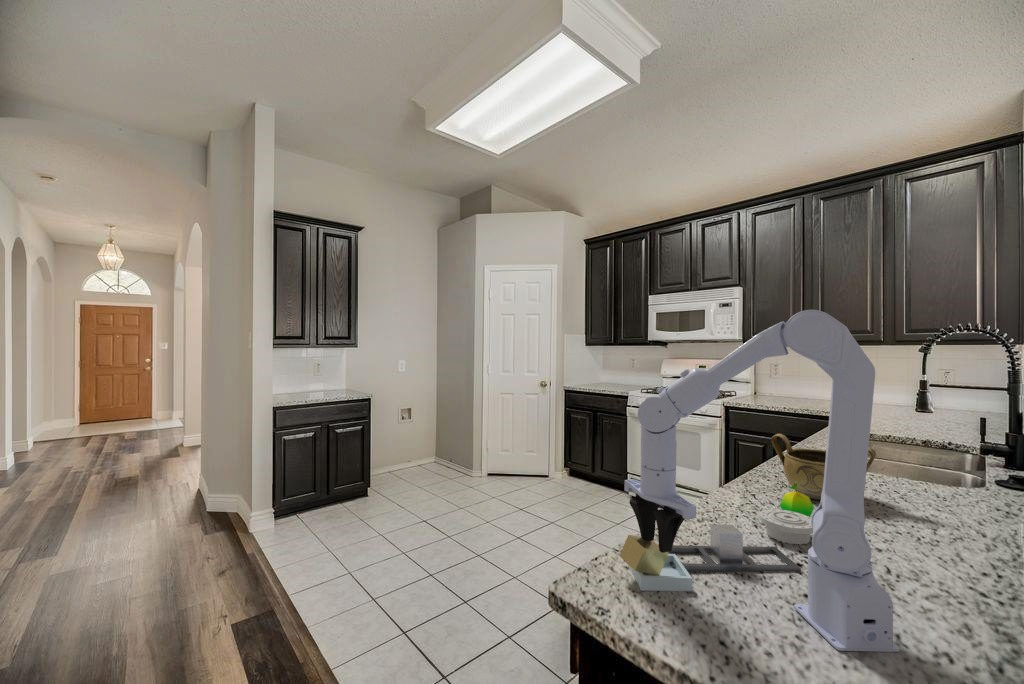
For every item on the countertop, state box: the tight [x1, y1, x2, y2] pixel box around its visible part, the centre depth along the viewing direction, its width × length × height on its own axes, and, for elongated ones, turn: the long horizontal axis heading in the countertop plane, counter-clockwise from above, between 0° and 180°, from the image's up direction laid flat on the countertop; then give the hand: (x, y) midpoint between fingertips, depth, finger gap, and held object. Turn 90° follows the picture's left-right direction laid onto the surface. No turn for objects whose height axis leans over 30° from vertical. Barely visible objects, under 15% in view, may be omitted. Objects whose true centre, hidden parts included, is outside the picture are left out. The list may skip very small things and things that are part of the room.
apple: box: [779, 481, 815, 518], centre depth 99 cm, size 7×6×9 cm
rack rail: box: [667, 544, 802, 573], centre depth 81 cm, size 8×22×1 cm, turn 88°
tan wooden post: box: [619, 534, 669, 575], centre depth 75 cm, size 4×4×6 cm
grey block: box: [709, 523, 744, 564], centre depth 81 cm, size 4×4×6 cm
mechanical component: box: [759, 508, 813, 546], centre depth 91 cm, size 10×4×10 cm
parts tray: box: [629, 553, 693, 592], centre depth 75 cm, size 8×8×2 cm
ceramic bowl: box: [771, 433, 877, 502], centre depth 115 cm, size 22×17×15 cm
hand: (656, 545), depth 76 cm, fingers open, 3 cm apart
